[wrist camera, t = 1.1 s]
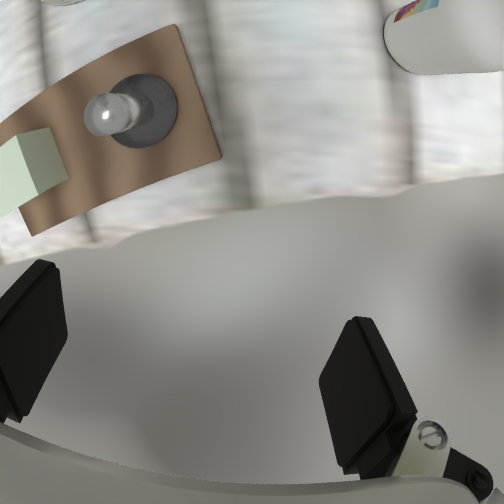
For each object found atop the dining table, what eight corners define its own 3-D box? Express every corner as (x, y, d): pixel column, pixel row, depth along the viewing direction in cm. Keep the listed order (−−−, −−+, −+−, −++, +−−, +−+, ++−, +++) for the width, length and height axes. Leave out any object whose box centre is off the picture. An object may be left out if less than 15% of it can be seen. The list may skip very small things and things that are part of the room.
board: (38, 231, 33) (-12, 274, 23) (-3, 129, 27) (-63, 147, 17) (222, 156, 30) (213, 181, 21) (177, 27, 24) (147, -6, 15)
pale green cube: (31, 199, 29) (0, 218, 24) (12, 151, 27) (-21, 164, 21) (68, 178, 29) (38, 195, 23) (49, 127, 26) (15, 135, 21)
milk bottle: (446, 78, 26) (594, 91, 8) (386, 73, 27) (537, 65, 9) (437, 15, 23) (574, -14, 5) (376, 5, 23) (504, -60, 5)
